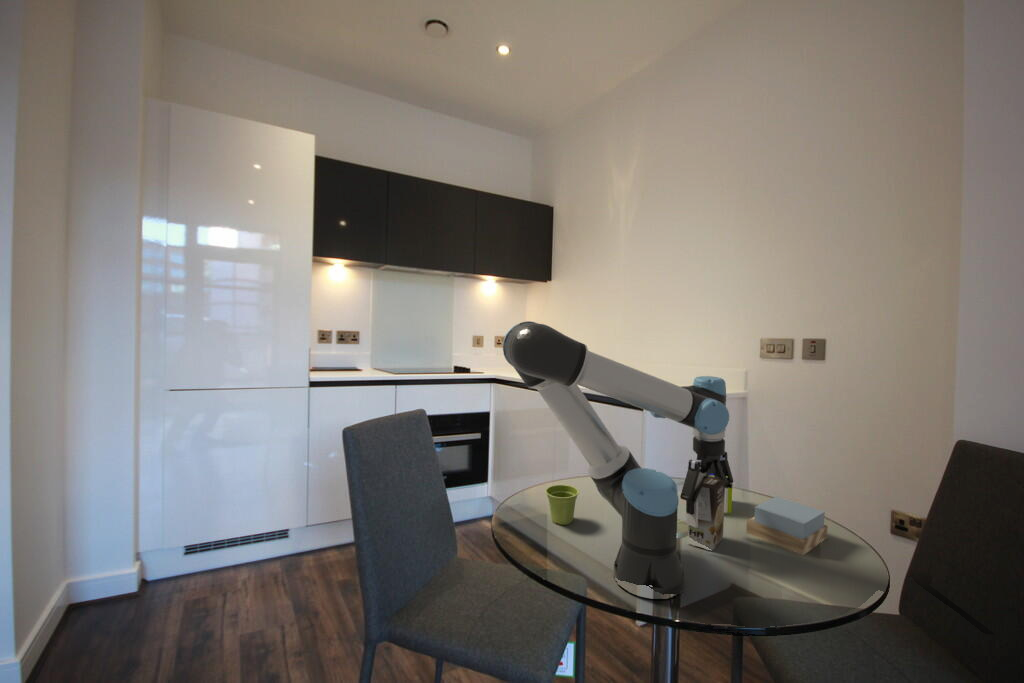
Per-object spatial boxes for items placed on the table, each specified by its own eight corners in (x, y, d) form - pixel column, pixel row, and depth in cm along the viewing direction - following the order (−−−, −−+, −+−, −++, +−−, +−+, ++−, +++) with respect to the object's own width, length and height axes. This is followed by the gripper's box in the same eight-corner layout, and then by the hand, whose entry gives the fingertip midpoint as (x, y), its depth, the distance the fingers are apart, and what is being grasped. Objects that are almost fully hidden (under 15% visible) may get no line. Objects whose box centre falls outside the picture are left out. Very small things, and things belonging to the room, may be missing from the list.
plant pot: (552, 530, 127) (552, 499, 127) (541, 515, 136) (541, 486, 136) (583, 525, 130) (584, 495, 129) (570, 511, 139) (570, 483, 138)
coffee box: (713, 552, 115) (715, 489, 114) (687, 544, 119) (688, 483, 118) (723, 538, 122) (725, 478, 121) (698, 531, 127) (700, 473, 125)
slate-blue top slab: (803, 539, 115) (803, 524, 114) (754, 521, 125) (754, 506, 124) (823, 526, 122) (824, 511, 121) (776, 510, 131) (776, 496, 131)
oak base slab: (802, 557, 114) (803, 541, 114) (746, 534, 126) (746, 520, 125) (826, 540, 122) (827, 525, 122) (771, 520, 134) (772, 507, 133)
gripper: (693, 450, 109) (692, 538, 110) (748, 432, 123) (746, 509, 125) (666, 443, 115) (665, 526, 116) (721, 426, 129) (720, 500, 131)
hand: (707, 518), depth 121 cm, fingers open, 13 cm apart
